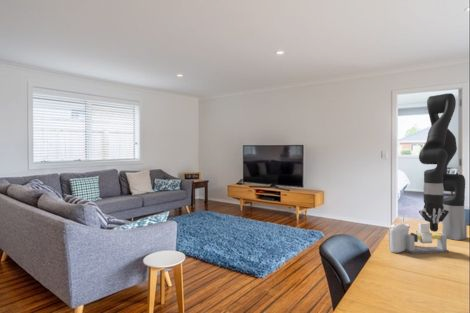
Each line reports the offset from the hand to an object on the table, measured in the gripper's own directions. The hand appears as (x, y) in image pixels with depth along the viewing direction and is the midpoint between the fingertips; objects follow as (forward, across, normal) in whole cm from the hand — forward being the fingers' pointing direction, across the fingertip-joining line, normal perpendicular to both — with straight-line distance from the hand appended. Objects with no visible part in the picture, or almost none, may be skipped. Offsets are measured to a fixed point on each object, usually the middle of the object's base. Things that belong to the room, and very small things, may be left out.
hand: (433, 231), depth 129 cm
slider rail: (+9, +4, 0) cm, 10 cm away
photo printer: (+9, +15, -2) cm, 18 cm away
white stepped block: (+5, +5, 0) cm, 7 cm away
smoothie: (+9, +8, -10) cm, 16 cm away
